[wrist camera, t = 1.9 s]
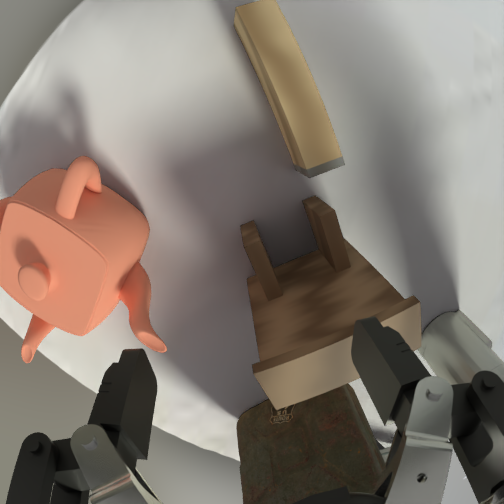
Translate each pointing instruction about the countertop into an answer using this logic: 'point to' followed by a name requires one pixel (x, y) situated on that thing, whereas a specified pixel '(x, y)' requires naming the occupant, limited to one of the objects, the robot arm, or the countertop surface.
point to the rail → (288, 87)
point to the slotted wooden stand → (317, 310)
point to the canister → (307, 449)
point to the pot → (74, 255)
